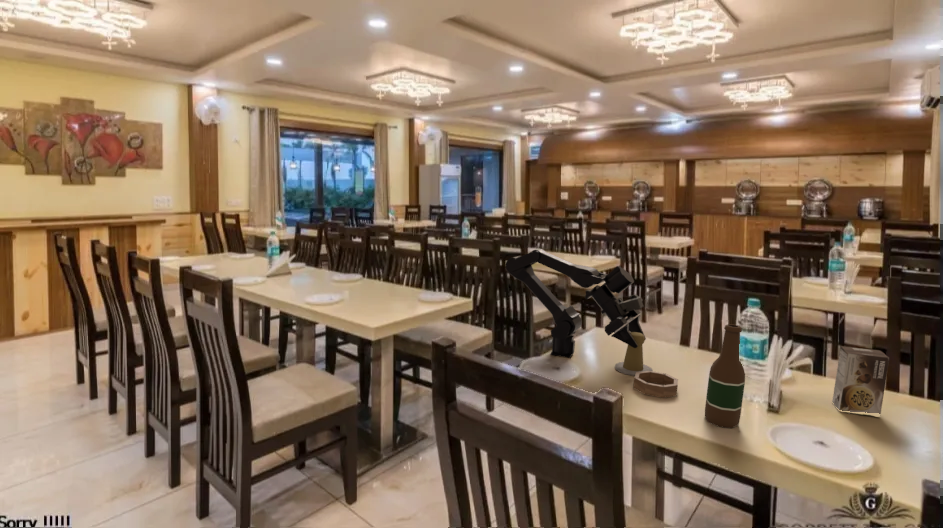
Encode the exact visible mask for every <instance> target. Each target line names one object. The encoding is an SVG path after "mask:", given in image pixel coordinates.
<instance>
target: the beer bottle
mask: <svg viewBox="0 0 943 528" xmlns="http://www.w3.org/2000/svg"><path fill="white" fill-rule="evenodd" d="M723 329H724V335H723V340H722V345H721V350H720V353H719V356H718V357H717V358H716V359H715V360H714V361H713V362H712V365H710V369H709V372H708V373H709V374H708V380H707V381H708V382H707V387H706V388H707V389H706V398H705V405H704V406H705V407H704V418H705V419H706V420H707V422H708V423H709V424H711V423H712V425H715V426H716V427H718V426H719V428H727V429H734V428H735V427H737V426H739V424H740V420H741V413H742V407H743V400H744V391H745V386H746V385H745V383H746V373H745V369H744V365H743V366H742V364H741V360H740V361H739V344H740V340H741V333H742V327H741V326H739V325H738V324H731V323H730V324H729V323H728V324H725V325H724V327H723Z"/></svg>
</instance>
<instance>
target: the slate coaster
mask: <svg viewBox="0 0 943 528" xmlns="http://www.w3.org/2000/svg"><path fill="white" fill-rule="evenodd" d="M623 363H624V361H619V362H617V363H615V365H614V368H615V370H616V371H617V372H619V373H620V374H624V375H627V376H633V377H635V374H636V372H643V371H654V369H653V368H652V367H650V366H648V365H646V364H644V363H643V370H642V371H631V370H627V369H625V368H624V367H623Z"/></svg>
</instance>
